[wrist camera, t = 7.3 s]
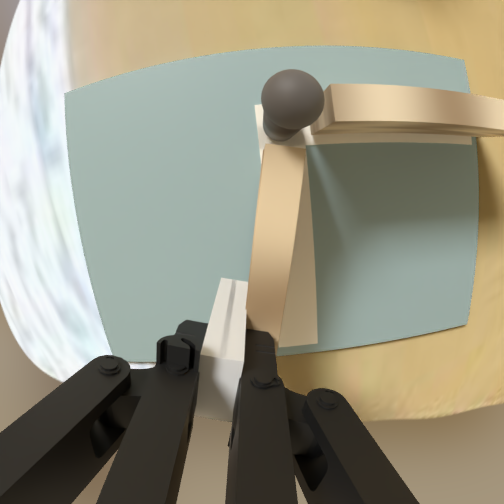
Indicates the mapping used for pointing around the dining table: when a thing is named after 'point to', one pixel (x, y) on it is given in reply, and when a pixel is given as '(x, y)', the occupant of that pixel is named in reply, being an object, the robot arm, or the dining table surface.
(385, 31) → the dining table surface
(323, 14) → the dining table surface
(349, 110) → the fence fixed
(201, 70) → the board
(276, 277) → the fence panel
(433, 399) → the dining table surface
